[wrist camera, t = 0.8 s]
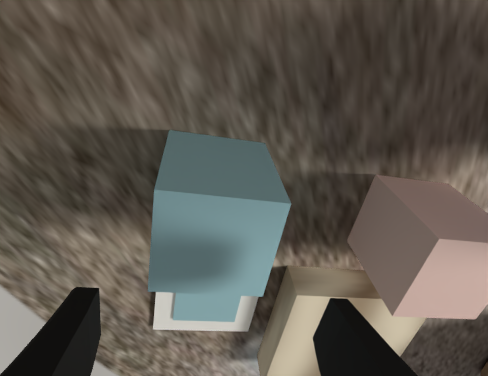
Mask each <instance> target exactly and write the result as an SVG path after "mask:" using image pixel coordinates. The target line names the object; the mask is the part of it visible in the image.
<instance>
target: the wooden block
mask: <svg viewBox="0 0 488 376" xmlns="http://www.w3.org/2000/svg"><path fill="white" fill-rule="evenodd" d="M481 376H488V362H487V363H486V365H485V366H484V367H483V369H482V370H481Z"/></svg>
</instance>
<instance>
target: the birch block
mask: <svg viewBox="0 0 488 376" xmlns="http://www.w3.org/2000/svg"><path fill="white" fill-rule="evenodd" d="M330 298H343V299H348V300H349V301H350V302H351V303H352V304H353V305H354V306H355V308H356V309H357V310H358V311H359V312H360V313H361V314H362V315H363V316H364V318H365V319H366V320H367V321H368V322H369V323H370V324H371V326H372V327H373V328H374V329H375V330H376V331H377V332H378V333H379V335H380V336H381V337H382V338H383V339H384V340H385V341H386V342H387V343H388V345H389V346H390V347H391V348H392V349H393V350H394V351H395V352H396V353H397V354H398V355H399V357H400V356H401V355H402V353H403V352H404V350H405V349H406V347H407V346H408V344H409V343H410V342H411V340H412V339H413V337H414V336H415V334H416V333H417V331H418V330H419V328H420V327H421V325H422V324H423V322H424V321H425V320H426V318H424V317H396V316H392V315H391V313H390V312H389V310H388V308H387V307H386V305H385V303H384V302H383V300H382V298H381V297H380V295H379V293H378V292H377V290H376V288H375V287H374V285H373V283H372V282H371V280H370V278H369V277H368V275H367V273H366V272H365V271H363V270H348V269H332V268H317V267H301V266H287V268H286V271H285V274H284V277H283V280H282V283H281V286H280V289H279V292H278V295H277V298H276V301H275V304H274V307H273V310H272V313H271V316H270V319H269V322H268V325H267V328H266V331H265V333H264V336H263V339H262V342H261V345H260V348H259V351H258V354H257V358H258V365H259V371H260V376H321V374H320V371H319V367H318V362H317V358H316V353H315V348H314V343H313V336H314V333H315V331H316V329H317V327H318V325H319V322H320V320H321V318H322V316H323V313H324V311H325V309H326V307H327V304H328V302H329V300H330Z"/></svg>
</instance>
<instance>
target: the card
mask: <svg viewBox="0 0 488 376" xmlns="http://www.w3.org/2000/svg"><path fill="white" fill-rule="evenodd" d="M257 300H258V296H236V295H213V294H191V293H169V292H156V298H155V311H154V323H153V329H157V330H202V331H246V332H248V330H249V327H250V323H251V320H252V317H253V313H254V310H255V307H256V303H257Z"/></svg>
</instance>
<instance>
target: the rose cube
mask: <svg viewBox="0 0 488 376" xmlns="http://www.w3.org/2000/svg"><path fill="white" fill-rule="evenodd" d="M347 242H348V244H349V245H350V247H351V248H352V250H353V252H354V253H355V255H356V257H357V258H358V260H359V262H360V263H361V265H362V267H363V268H364V270H365V272H366V273H367V275H368V277H369V278H370V280H371V282H372V283H373V285H374V287H375V288H376V290H377V292H378V293H379V295H380V297H381V298H382V300H383V302H384V303H385V305H386V307H387V308H388V310H389V312H390V313H391V315H392V316H396V317H424V318H453V319H476V318H477V317H478V315H479V314H480V313H481V312H482V310H483V309H484V308H485V307H486V305H487V304H488V213H487V212H485V211H484V210H483V209H481V208H480V207H479V206H477V205H476V204H474V203H473V202H472V201H470V200H469V199H468V198H466V197H465V196H464V195H462V194H461V193H460V192H458V191H457V190H456V189H454V188H453V187H452V186H450V185H449V184H446V183H438V182H430V181H422V180H414V179H406V178H398V177H391V176H383V175H375V177H374V179H373V182H372V184H371V186H370V189H369V191H368V193H367V195H366V198H365V200H364V202H363V205H362V207H361V209H360V212H359V214H358V216H357V219H356V221H355V223H354V226H353V228H352V230H351V232H350V235H349V237H348V239H347Z"/></svg>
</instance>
